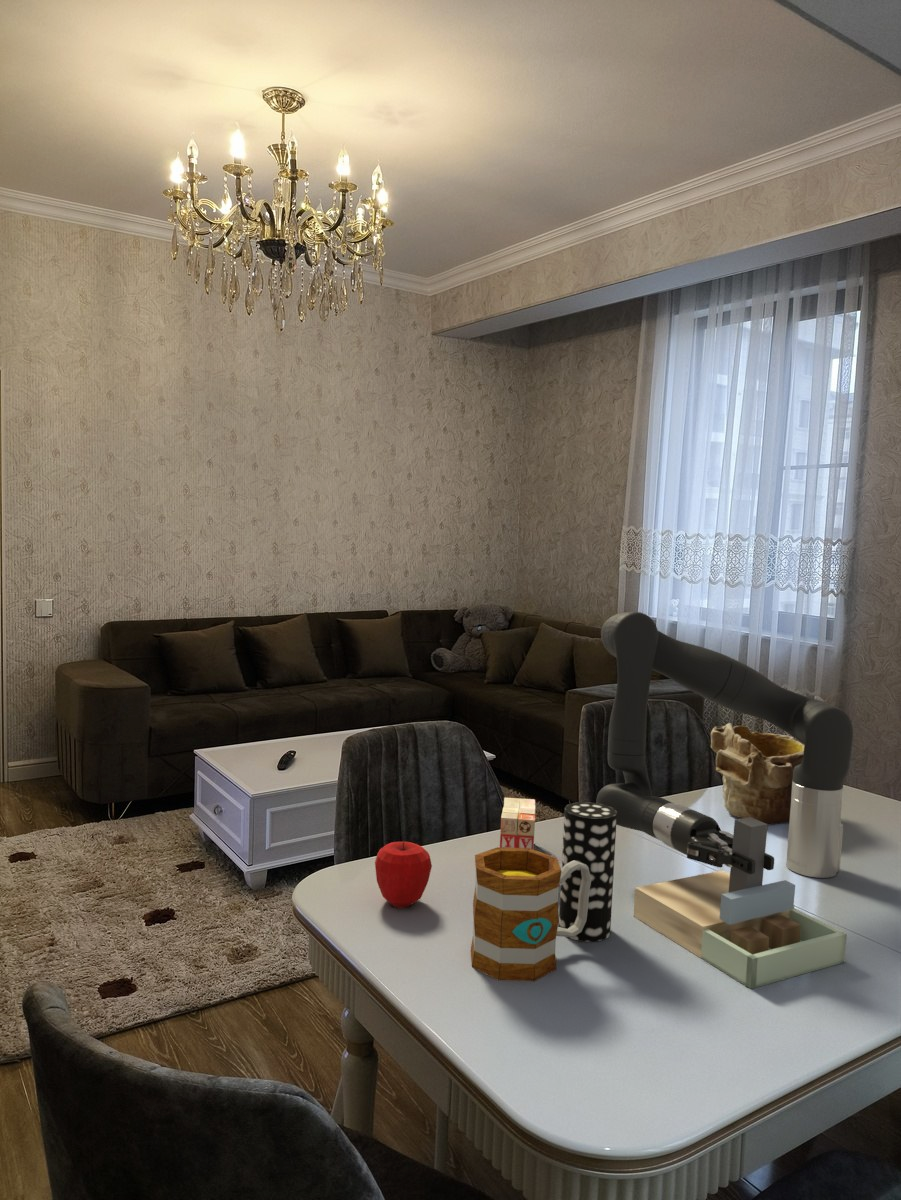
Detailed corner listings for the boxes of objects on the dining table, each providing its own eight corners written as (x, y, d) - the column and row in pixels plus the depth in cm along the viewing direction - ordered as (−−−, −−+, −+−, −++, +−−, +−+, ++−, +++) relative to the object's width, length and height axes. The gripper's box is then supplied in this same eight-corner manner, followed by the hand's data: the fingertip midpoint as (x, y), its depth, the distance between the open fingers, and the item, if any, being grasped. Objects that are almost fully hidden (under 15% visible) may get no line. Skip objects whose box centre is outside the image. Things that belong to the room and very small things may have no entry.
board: (720, 897, 160) (722, 870, 160) (792, 934, 146) (794, 905, 146) (633, 916, 151) (635, 887, 150) (700, 958, 137) (703, 926, 136)
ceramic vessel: (864, 795, 199) (810, 710, 194) (784, 864, 196) (726, 780, 191) (802, 766, 221) (752, 689, 216) (729, 828, 218) (676, 752, 213)
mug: (492, 989, 125) (496, 886, 124) (453, 946, 137) (457, 852, 136) (610, 966, 133) (615, 869, 132) (563, 928, 145) (568, 838, 144)
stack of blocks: (503, 841, 185) (506, 783, 184) (533, 844, 184) (536, 785, 183) (497, 881, 163) (500, 816, 162) (531, 884, 163) (535, 819, 162)
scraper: (766, 895, 147) (773, 813, 146) (793, 909, 142) (801, 824, 141) (703, 909, 140) (710, 823, 139) (729, 924, 136) (736, 835, 134)
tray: (792, 934, 146) (794, 908, 146) (844, 962, 137) (846, 933, 137) (700, 958, 137) (702, 929, 136) (750, 989, 128) (752, 958, 127)
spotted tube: (598, 947, 139) (605, 822, 137) (550, 932, 143) (556, 811, 142) (617, 927, 146) (624, 808, 144) (571, 914, 150) (577, 799, 149)
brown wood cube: (780, 914, 143) (801, 925, 140) (779, 938, 143) (799, 949, 140) (763, 919, 141) (783, 929, 138) (761, 943, 142) (781, 954, 138)
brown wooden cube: (750, 926, 138) (768, 937, 135) (748, 950, 139) (767, 962, 135) (730, 929, 137) (748, 941, 133) (728, 954, 137) (746, 967, 134)
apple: (440, 908, 151) (443, 846, 150) (390, 919, 146) (392, 855, 145) (412, 887, 159) (414, 828, 158) (364, 897, 154) (366, 836, 153)
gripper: (655, 814, 150) (731, 848, 135) (717, 804, 157) (796, 836, 142) (652, 857, 151) (728, 896, 136) (714, 845, 157) (793, 882, 142)
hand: (762, 865), depth 139 cm, fingers closed on scraper, 3 cm apart
